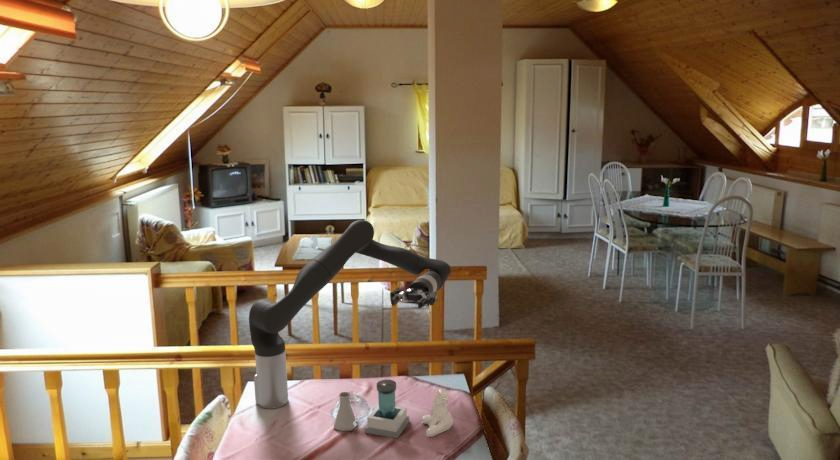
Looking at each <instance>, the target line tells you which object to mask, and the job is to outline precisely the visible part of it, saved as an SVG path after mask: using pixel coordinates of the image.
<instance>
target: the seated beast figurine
mask: <svg viewBox="0 0 840 460" xmlns="http://www.w3.org/2000/svg"><path fill="white" fill-rule="evenodd" d="M433 397H434V398H433V401H432V402H433V406H432V409H431V414H426V415H423V416H422V417H421V423H422V424H423V425H428V426H429V427H428V428H427V429H426V431H425V433H426V436H427V437H428V438H429V437H430V438H431V437H435V436H437V435H439V434H442V433H444V432H447V431H449V429H451V427H452V426H453V424H454V419H453V415H452V414H451V413H450V412H449V410H448V405H447V403H449V397H450V396H449V393H448V392H447V391H446V389H445V388H444V387H443V388H439V389H438V390H437V393H436V395H434V396H433Z"/></svg>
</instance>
